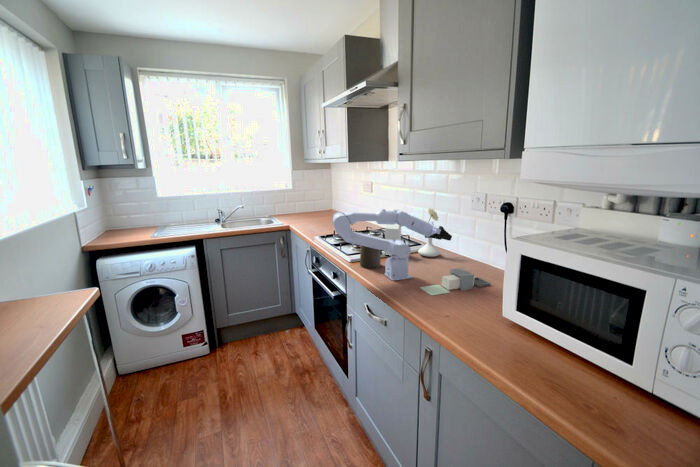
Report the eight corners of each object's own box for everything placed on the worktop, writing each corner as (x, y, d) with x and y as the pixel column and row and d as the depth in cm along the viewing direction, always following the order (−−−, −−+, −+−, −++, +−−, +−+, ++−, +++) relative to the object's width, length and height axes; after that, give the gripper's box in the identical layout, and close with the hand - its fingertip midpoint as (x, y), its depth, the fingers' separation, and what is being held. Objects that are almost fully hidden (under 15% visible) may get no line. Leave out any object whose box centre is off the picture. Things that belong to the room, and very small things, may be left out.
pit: (477, 287, 126) (478, 285, 126) (465, 281, 133) (465, 278, 133) (490, 285, 128) (490, 283, 128) (477, 279, 135) (477, 277, 135)
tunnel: (462, 290, 123) (463, 276, 122) (449, 283, 131) (450, 269, 129) (472, 288, 125) (473, 274, 124) (459, 281, 132) (460, 268, 131)
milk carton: (397, 257, 165) (398, 221, 161) (384, 255, 168) (385, 220, 163) (400, 253, 172) (401, 219, 168) (387, 252, 174) (388, 218, 170)
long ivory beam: (448, 289, 123) (449, 280, 122) (441, 285, 127) (442, 276, 126) (473, 285, 127) (474, 276, 126) (466, 281, 131) (466, 272, 130)
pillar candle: (367, 270, 146) (368, 238, 143) (356, 264, 155) (356, 234, 151) (384, 266, 151) (385, 236, 148) (372, 261, 159) (373, 232, 156)
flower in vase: (441, 258, 162) (445, 210, 157) (419, 258, 164) (421, 210, 158) (437, 251, 175) (440, 206, 169) (416, 251, 176) (418, 206, 171)
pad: (431, 295, 119) (431, 295, 119) (419, 287, 126) (419, 287, 126) (450, 292, 122) (450, 292, 121) (438, 284, 129) (438, 284, 129)
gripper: (430, 216, 127) (458, 229, 130) (415, 217, 142) (441, 229, 145) (424, 233, 127) (452, 245, 130) (409, 232, 141) (435, 243, 144)
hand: (446, 237), depth 137 cm, fingers open, 7 cm apart
